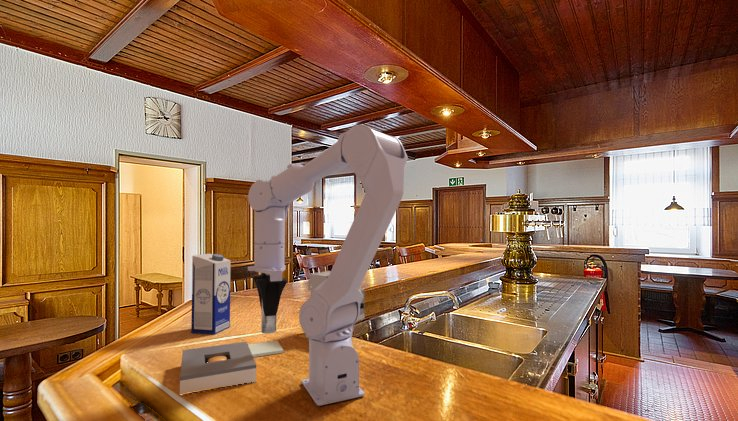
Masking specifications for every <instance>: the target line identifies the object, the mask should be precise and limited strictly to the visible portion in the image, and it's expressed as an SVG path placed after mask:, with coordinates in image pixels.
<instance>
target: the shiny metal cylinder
mask: <svg viewBox="0 0 738 421" xmlns="http://www.w3.org/2000/svg"><path fill="white" fill-rule="evenodd" d="M260 326H261V327H260V328H261V329H260V332H261V333H262V334H266V335H267V334H273V333H275V332H277V314H276V315H275V316H265V314H264V311H263V304H262V310H261V324H260Z"/></svg>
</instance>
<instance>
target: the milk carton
mask: <svg viewBox="0 0 738 421" xmlns="http://www.w3.org/2000/svg"><path fill="white" fill-rule="evenodd" d="M191 258H192V264H191V267H192V268H191V320H190V321H191V324H190V325H191V329H190V332H191V334H197V335H198V334H199V335H200V334H201V335H216V334H219V333H220V332H223V331H225V330H227V329H229V328H230V327H231V262H232V261H231V260H230V259H228V258H225V256H224V255H223V254H219V253H213V254H212V253H203V254H193V255H192V257H191Z"/></svg>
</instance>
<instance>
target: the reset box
mask: <svg viewBox="0 0 738 421" xmlns="http://www.w3.org/2000/svg"><path fill="white" fill-rule="evenodd" d="M248 345H249V344H248V342H247V341H240V342H233V343H227V344H220V345H219V344H218V345H210V346H206V347H204V346H203V347H195V348H188V349H182V355H181V364H180V372H179V374H180V375H179V395H180V394H183V393H187V392H193V391H198V390H204V389H209V388H216V387H217V388H218V387H225V386H231V387H233V386H232V385H236V386H239V385H238V384H242V385H245V384H244V383H247V384H252V383H257V363H256V360H255V357H253V356H252V353H251V351H250V349H249V346H248ZM216 356H225V357H227V360H221V361H215V362H208V360H209V359H210V358H212V357H216ZM207 362H208V363H207ZM251 382H252V383H251ZM225 388H226V387H225Z"/></svg>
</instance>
